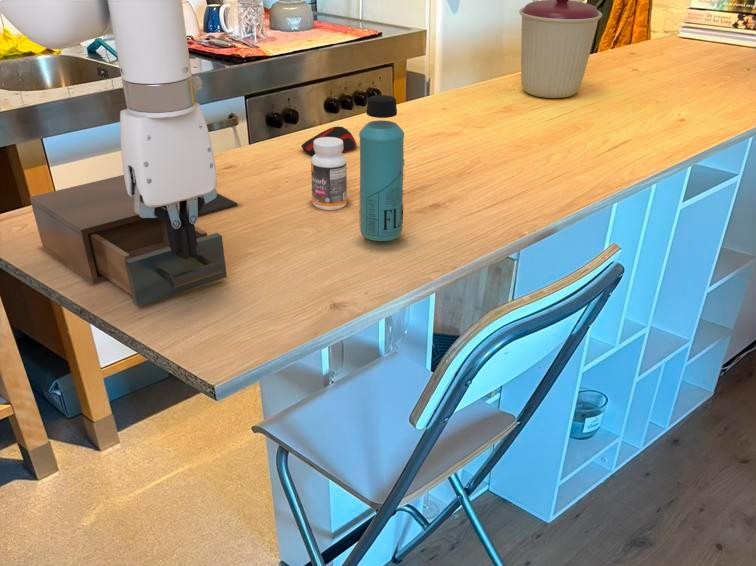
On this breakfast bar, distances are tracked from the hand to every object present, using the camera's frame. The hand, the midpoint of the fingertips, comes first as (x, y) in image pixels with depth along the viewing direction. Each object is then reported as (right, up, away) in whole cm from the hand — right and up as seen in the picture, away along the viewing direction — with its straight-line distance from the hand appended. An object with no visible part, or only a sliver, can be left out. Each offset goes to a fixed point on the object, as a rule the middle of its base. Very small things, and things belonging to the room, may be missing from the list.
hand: (184, 254), depth 102 cm
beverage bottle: (+25, +8, +20) cm, 33 cm away
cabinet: (-14, +5, +16) cm, 22 cm away
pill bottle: (+16, +18, +32) cm, 40 cm away
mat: (-7, +18, +31) cm, 36 cm away
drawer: (-5, -1, +7) cm, 9 cm away
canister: (+64, +66, +88) cm, 127 cm away
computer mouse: (+15, +37, +53) cm, 66 cm away
